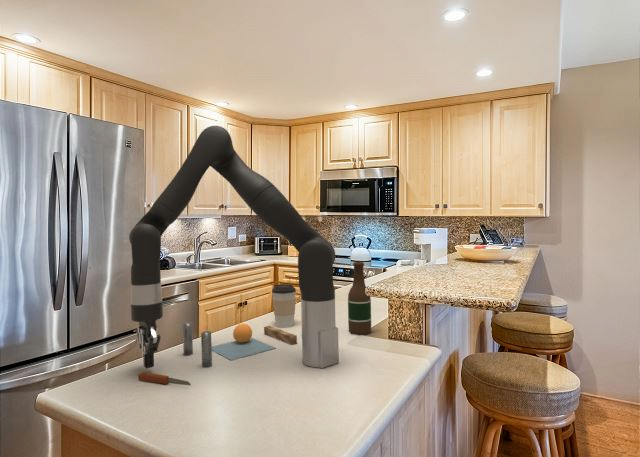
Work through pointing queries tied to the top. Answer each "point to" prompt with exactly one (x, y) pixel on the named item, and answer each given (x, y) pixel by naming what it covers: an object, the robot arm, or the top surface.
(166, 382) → the kitchen knife
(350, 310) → the beer bottle
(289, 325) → the coffee cup
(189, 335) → the left post
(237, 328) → the ball
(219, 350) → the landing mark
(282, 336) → the wall
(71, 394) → the top surface
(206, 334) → the right post
